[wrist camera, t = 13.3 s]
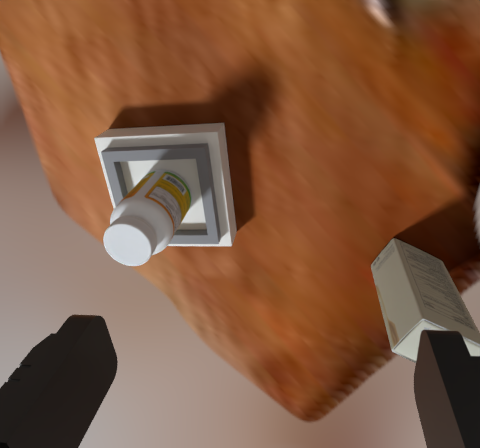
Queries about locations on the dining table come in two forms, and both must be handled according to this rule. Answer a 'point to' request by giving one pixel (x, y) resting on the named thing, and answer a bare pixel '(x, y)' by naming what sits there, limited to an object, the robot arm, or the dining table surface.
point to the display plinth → (184, 164)
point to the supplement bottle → (147, 217)
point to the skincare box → (419, 299)
